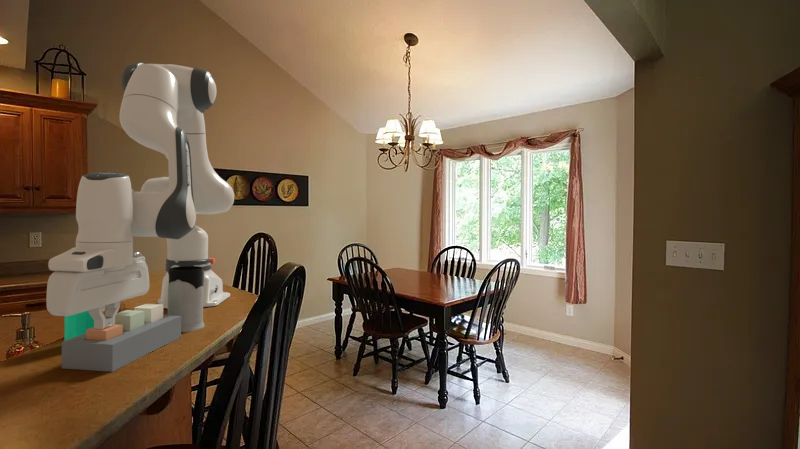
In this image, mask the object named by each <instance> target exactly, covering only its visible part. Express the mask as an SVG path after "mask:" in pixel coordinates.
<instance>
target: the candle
mask: <svg viewBox="0 0 800 449" xmlns="http://www.w3.org/2000/svg"><path fill="white" fill-rule="evenodd" d="M93 327H94V320H93V318H92V317H91V315H90V314H89V310H88V311H85V312H81V313H78V314H74V315H71V316H64V341H65V340H68V339H70V338H73V337H76V336H79V335H82V334H85V333H86V330H87V329H90V328H93Z"/></svg>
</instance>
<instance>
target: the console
mask: <svg viewBox="0 0 800 449" xmlns="http://www.w3.org/2000/svg"><path fill="white" fill-rule="evenodd" d="M181 337H182V333H181V316H172V315H168V314H167V315H166V314H163V318H162V319H160V320H157V321H155V322H152V323H144V326H142V327H140V328H137V329H135V330H132V331H123V334H122V335H120V336H117V337H115V338H112V339H110V340H107V341H100V340H86V333H85V334H82V335H79V336H76V337H73V338H70V339H68V340H65V339H64V340H63V341H61V369H67V370H68V369H69V370H81V371H82V370H83V371H96V372H97V371H98V372H112V373H113V372H114V371H115V372H116V371H117V370H119V369H121V368H124V367H125V366H126V365H129V364H131V363H133V362H134V361H136V360H139V359H140V358H142V357H145V356H146V354H147V355H149V354H150V352H151V353H152V351H153V352H154V350H155V351H157V350H158V348H159V349H161V348H162V346H163V347H164V345H165V346H166V344H167V345H169V344H171V343H172V342H174V341H177V340H178V339H180V338H181ZM160 347H161V348H160ZM156 349H157V350H156ZM148 353H149V354H148Z"/></svg>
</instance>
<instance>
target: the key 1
mask: <svg viewBox="0 0 800 449" xmlns="http://www.w3.org/2000/svg"><path fill="white" fill-rule="evenodd" d="M122 334H123V325H117V324H114V325H113V326H110V327H107V328H104V329H95V328H94V327H93V328H90V329H87V330H86V340H100V341H107V340H110V339H112V338H115V337H117V336H120V335H122Z"/></svg>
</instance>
